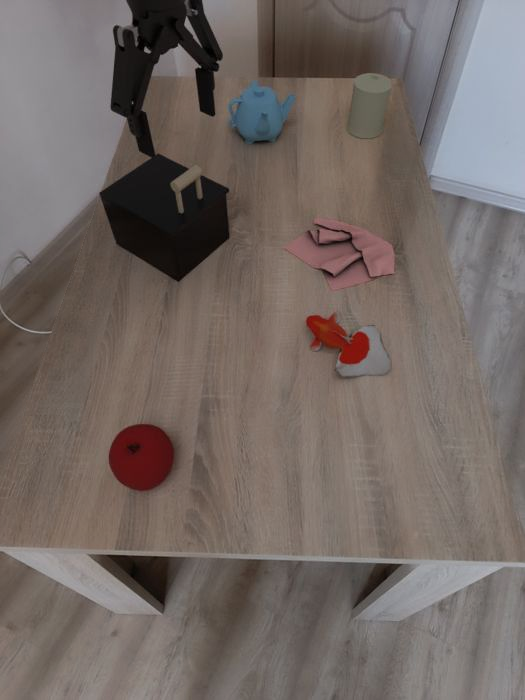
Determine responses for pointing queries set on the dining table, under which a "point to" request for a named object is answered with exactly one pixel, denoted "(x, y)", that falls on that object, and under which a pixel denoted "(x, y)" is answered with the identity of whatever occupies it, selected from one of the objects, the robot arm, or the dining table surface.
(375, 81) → the can
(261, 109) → the teapot
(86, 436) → the dining table surface
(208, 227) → the box
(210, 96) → the robot arm
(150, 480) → the apple
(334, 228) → the cloth
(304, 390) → the dining table surface
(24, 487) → the dining table surface
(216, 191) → the lid
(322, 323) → the fish
